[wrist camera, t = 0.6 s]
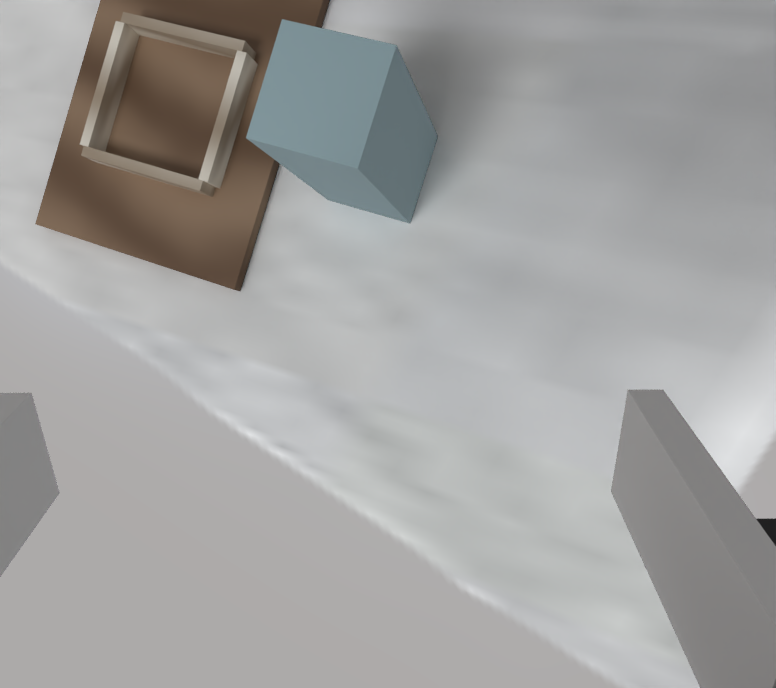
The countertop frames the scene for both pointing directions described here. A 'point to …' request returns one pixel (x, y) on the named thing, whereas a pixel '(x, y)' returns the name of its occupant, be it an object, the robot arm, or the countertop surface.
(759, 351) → the countertop surface
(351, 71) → the blue-grey tall block
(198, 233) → the board
